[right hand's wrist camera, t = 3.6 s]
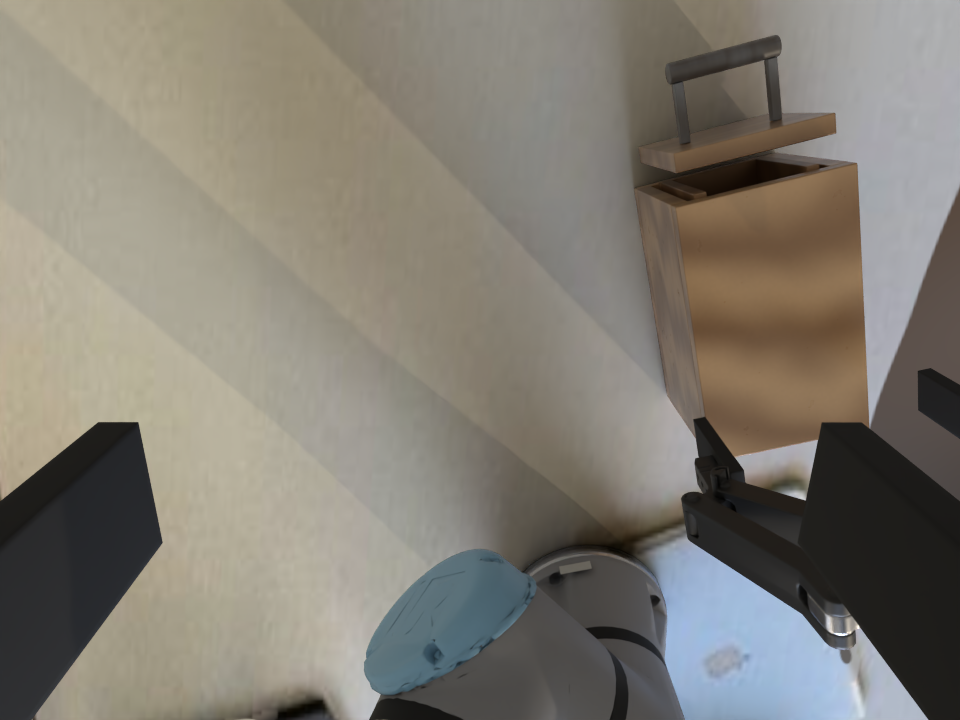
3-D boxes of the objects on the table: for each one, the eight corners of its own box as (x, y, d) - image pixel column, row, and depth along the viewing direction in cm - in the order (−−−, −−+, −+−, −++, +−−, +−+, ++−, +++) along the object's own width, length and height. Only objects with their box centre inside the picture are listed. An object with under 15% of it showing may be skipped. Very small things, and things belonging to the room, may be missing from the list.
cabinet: (633, 188, 50) (675, 207, 40) (775, 152, 49) (857, 162, 39) (667, 396, 56) (711, 462, 46) (794, 368, 56) (869, 429, 45)
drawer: (626, 74, 47) (661, 65, 38) (762, 38, 46) (830, 20, 37) (670, 352, 54) (707, 399, 45) (788, 326, 53) (849, 367, 44)
